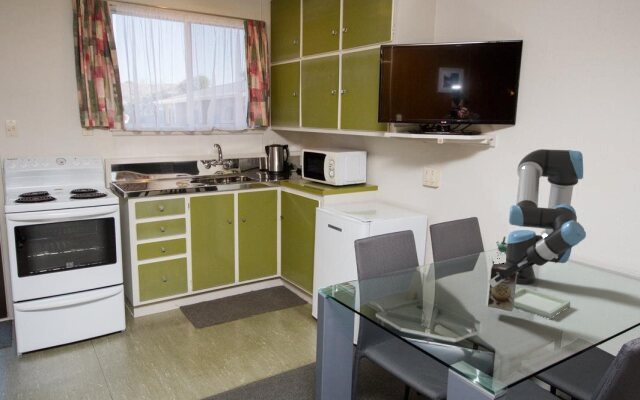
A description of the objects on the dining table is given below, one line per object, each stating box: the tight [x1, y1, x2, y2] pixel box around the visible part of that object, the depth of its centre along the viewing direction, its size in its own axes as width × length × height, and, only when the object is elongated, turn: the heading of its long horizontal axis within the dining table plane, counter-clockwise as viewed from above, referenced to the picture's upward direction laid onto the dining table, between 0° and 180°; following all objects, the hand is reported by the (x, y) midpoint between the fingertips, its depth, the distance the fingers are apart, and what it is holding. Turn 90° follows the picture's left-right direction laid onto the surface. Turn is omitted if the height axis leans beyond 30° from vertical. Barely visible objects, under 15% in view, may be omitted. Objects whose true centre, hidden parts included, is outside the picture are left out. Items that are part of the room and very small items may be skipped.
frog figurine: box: [495, 236, 508, 259], centre depth 244 cm, size 10×18×15 cm, turn 126°
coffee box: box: [487, 264, 517, 312], centre depth 177 cm, size 9×6×16 cm
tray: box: [513, 287, 571, 320], centre depth 190 cm, size 20×18×2 cm
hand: (497, 281), depth 179 cm, fingers closed on coffee box, 9 cm apart
